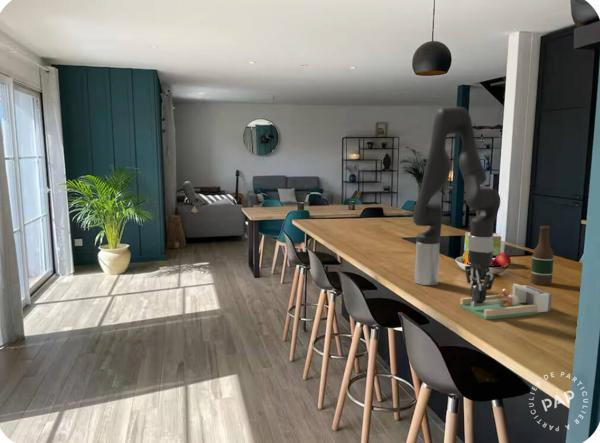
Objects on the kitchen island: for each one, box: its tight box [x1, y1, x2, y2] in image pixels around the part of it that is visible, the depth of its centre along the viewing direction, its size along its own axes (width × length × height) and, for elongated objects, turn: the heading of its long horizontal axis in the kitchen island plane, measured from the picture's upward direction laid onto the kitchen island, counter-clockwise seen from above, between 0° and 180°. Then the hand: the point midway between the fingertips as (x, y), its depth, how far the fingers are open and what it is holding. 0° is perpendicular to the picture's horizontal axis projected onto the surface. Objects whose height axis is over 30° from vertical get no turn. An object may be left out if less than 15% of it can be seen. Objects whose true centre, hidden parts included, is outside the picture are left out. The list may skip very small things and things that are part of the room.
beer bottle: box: [530, 225, 555, 287], centre depth 194 cm, size 8×8×24 cm
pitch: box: [459, 294, 538, 321], centre depth 161 cm, size 14×20×3 cm
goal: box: [511, 283, 553, 313], centre depth 165 cm, size 11×6×7 cm, turn 16°
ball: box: [509, 294, 520, 306], centre depth 163 cm, size 4×4×4 cm
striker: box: [471, 284, 512, 307], centre depth 160 cm, size 5×14×8 cm, turn 106°
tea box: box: [463, 231, 502, 258], centre depth 231 cm, size 15×10×15 cm, turn 81°
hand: (478, 298), depth 159 cm, fingers closed on striker, 3 cm apart
